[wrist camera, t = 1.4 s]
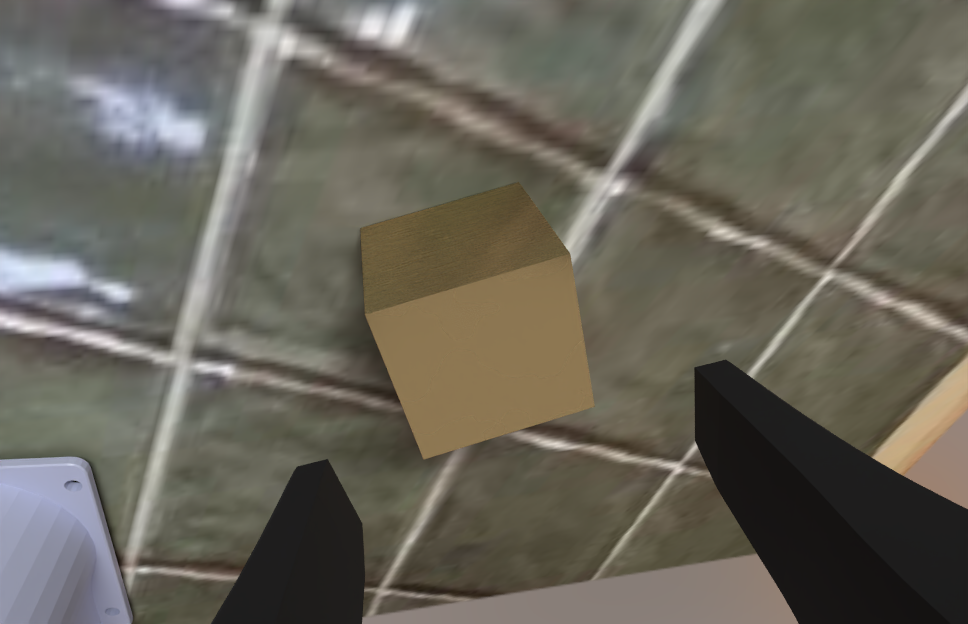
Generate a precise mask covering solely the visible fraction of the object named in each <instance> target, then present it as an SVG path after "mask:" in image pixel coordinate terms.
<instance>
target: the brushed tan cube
mask: <svg viewBox="0 0 968 624" xmlns="http://www.w3.org/2000/svg"><path fill="white" fill-rule="evenodd" d="M360 230H361V248H362V267H363V286H364V305H365V316H366V318H367V321H368V323H369V326H370V328H371V331H372V333H373V336H374V338H375V341H376V343H377V346H378V348H379V350H380V353H381V355H382V358H383V360H384V363H385V365H386V368H387V370H388V373H389V375H390V378H391V380H392V383H393V385H394V387H395V390H396V392H397V395H398V397H399V400H400V402H401V405H402V407H403V410H404V412H405V415H406V417H407V420H408V422H409V425H410V427H411V429H412V432H413V434H414V437H415V439H416V442H417V444H418V447H419V449H420V452H421V454H422V457H423V459H427V458H430V457H434V456H437V455H440V454H443V453H446V452H450V451H453V450H456V449H459V448H463V447H466V446H469V445H472V444H476V443H479V442H482V441H485V440H488V439H492V438H495V437H498V436H501V435H505V434H508V433H511V432H514V431H518V430H521V429H524V428H527V427H530V426H534V425H537V424H540V423H543V422H547V421H550V420H553V419H556V418H560V417H563V416H566V415H569V414H572V413H576V412H579V411H582V410H585V409H589V408H592V407H595V406H594V400H593V393H592V387H591V381H590V375H589V368H588V362H587V356H586V350H585V343H584V337H583V331H582V325H581V318H580V312H579V306H578V300H577V294H576V287H575V281H574V275H573V269H572V262H571V256H570V253H569V251H568V250H567V249H566V247H565V246H564V245H563V243H562V242H561V240H560V239H559V238H558V236H557V235H556V233H555V232H554V231H553V229H552V228H551V226H550V225H549V224H548V222H547V221H546V219H545V218H544V217H543V215H542V214H541V212H540V211H539V210H538V208H537V207H536V205H535V204H534V203H533V201H532V200H531V198H530V197H529V196H528V194H527V193H526V191H525V190H524V189H523V187H522V186H521V184H520V183H519V182H518V183H514V184H511V185H508V186H504V187H501V188H497V189H494V190H490V191H487V192H483V193H480V194H477V195H473V196H470V197H466V198H463V199H459V200H456V201H452V202H449V203H446V204H442V205H439V206H435V207H432V208H428V209H425V210H422V211H418V212H415V213H411V214H408V215H404V216H401V217H397V218H394V219H391V220H387V221H384V222H380V223H377V224H373V225H370V226H366V227H363V228H360Z"/></svg>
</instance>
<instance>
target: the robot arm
mask: <svg viewBox="0 0 968 624" xmlns="http://www.w3.org/2000/svg"><path fill="white" fill-rule="evenodd" d="M695 441H696V444H697V446H698V448H699V450H700V453H701V455H702V457H703V459H704V461H705V464H706V466H707V468H708V470H709V472H710V474H711V476H712V478H713V481H714V483H715V485H716V487H717V489H718V490H719V492H720V494H721V495H722V497H723V499H724V500H725V502H726V504H727V505H728V507H729V509H730V510H731V512H732V514H733V515H734V517H735V518H736V520H737V522H738V523H739V525H740V527H741V528H742V530H743V531H744V533H745V535H746V536H747V538H748V539H749V541H750V543H751V544H752V546H753V548H754V549H755V551H756V552H757V554H758V556H759V557H760V559H761V560H762V562H763V564H764V565H765V567H766V568H767V570H768V572H769V573H770V575H771V577H772V578H773V580H774V581H775V583H776V584H777V586H778V588H779V589H780V591H781V593H782V594H783V596H784V598H785V600H786V601H787V603H788V605H789V607H790V608H791V610H792V612H793V614H794V616H795V617H796V619H797V621H798V623H799V624H968V509H966V508H964V507H962V506H960V505H958V504H956V503H954V502H952V501H950V500H948V499H946V498H944V497H942V496H940V495H938V494H936V493H934V492H933V491H931V490H929V489H927V488H925V487H923V486H921V485H919V484H917V483H915V482H913V481H911V480H910V479H908V478H906V477H904V476H902V475H901V474H899V473H897V472H895V471H894V470H892V469H890V468H888V467H887V466H885V465H883V464H881V463H880V462H878V461H876V460H875V459H873V458H871V457H870V456H868V455H866V454H865V453H863V452H861V451H860V450H858V449H856V448H855V447H853V446H852V445H850V444H848V443H847V442H845V441H844V440H842V439H840V438H839V437H837V436H836V435H834V434H833V433H831V432H830V431H828V430H826V429H825V428H823V427H822V426H820V425H819V424H817V423H816V422H814V421H813V420H811V419H810V418H808V417H807V416H805V415H804V414H802V413H801V412H799V411H798V410H796V409H795V408H793V407H792V406H791V405H789V404H788V403H786V402H785V401H783V400H782V399H781V398H779V397H778V396H776V395H775V394H774V393H772V392H771V391H769V390H768V389H766V388H765V387H764V386H762V385H761V384H760V383H758V382H757V381H755V380H754V379H753V378H751V377H750V376H748V375H747V374H746V373H744V372H743V371H742V370H740V369H739V368H737V367H736V366H735V365H733V364H732V363H730V362H729V361H727V360H723V361H719V362H715V363H711V364H707V365H703V366H699V367H695ZM71 480H74V481H78V482H80V483H77V482H73V481H71ZM364 582H365V566H364V545H363V528H362V522H361V520H360V518H359V517H358V515H357V513H356V511H355V509H354V507H353V505H352V504H351V502H350V500H349V498H348V496H347V494H346V492H345V491H344V489H343V487H342V485H341V483H340V481H339V479H338V477H337V476H336V474H335V472H334V470H333V468H332V466H331V464H330V463H329V461H328V459H326V460H322V461H318V462H314V463H310V464H306V465H302V466H298V467H297V468H296V469H295V471H294V472H293V474H292V476H291V478H290V480H289V482H288V484H287V486H286V488H285V490H284V492H283V494H282V496H281V498H280V500H279V502H278V504H277V506H276V508H275V510H274V512H273V514H272V516H271V518H270V520H269V522H268V523H267V525H266V527H265V529H264V531H263V533H262V535H261V537H260V539H259V541H258V543H257V544H256V546H255V548H254V550H253V552H252V554H251V555H250V557H249V559H248V561H247V563H246V565H245V567H244V568H243V570H242V572H241V574H240V576H239V577H238V579H237V581H236V583H235V585H234V586H233V588H232V590H231V591H230V593H229V595H228V596H227V598H226V600H225V601H224V603H223V605H222V606H221V608H220V610H219V611H218V613H217V615H216V616H215V618H214V620H213V621H212V623H211V624H362V614H363V598H364ZM132 621H133V615H132V611H131V608H130V604H129V601H128V597H127V594H126V590H125V587H124V583H123V580H122V576H121V573H120V569H119V565H118V562H117V558H116V555H115V551H114V548H113V544H112V541H111V537H110V534H109V530H108V527H107V523H106V519H105V516H104V512H103V509H102V505H101V502H100V498H99V495H98V491H97V488H96V484H95V480H94V477H93V473H92V470H91V467H90V465H89V463H88V462H86V461H85V460H84V459H81V458H78V457H52V458H29V459H6V460H0V624H132Z"/></svg>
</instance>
